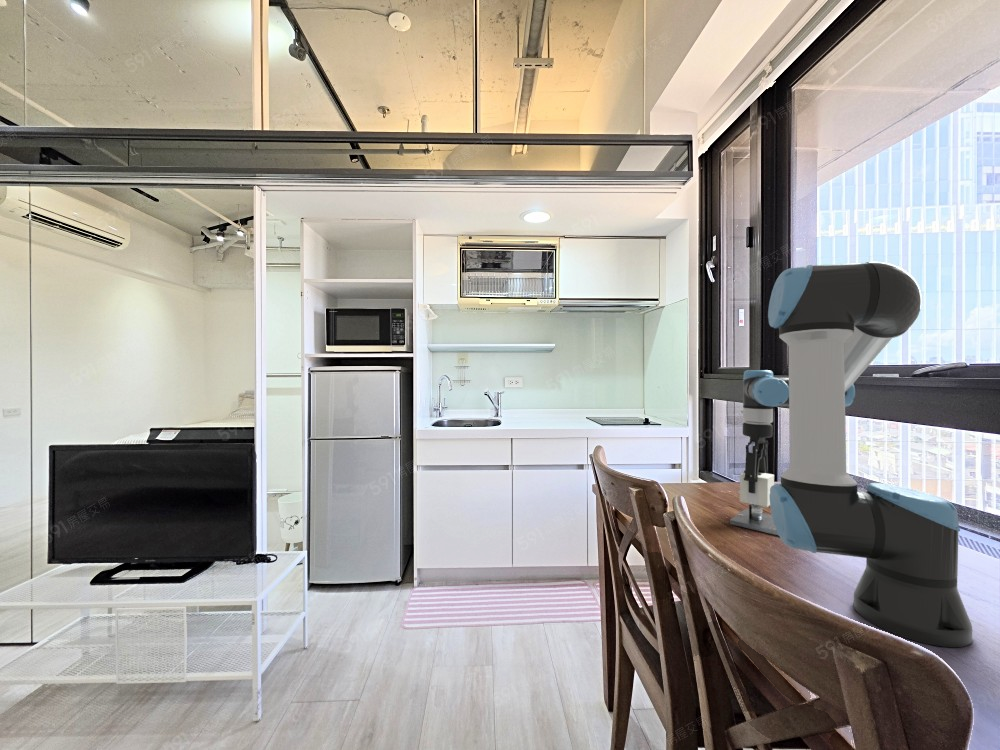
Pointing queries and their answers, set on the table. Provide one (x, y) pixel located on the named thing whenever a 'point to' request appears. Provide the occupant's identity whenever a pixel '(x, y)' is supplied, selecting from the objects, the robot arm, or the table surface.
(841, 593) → the table surface
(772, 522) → the hub plate
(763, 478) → the block
